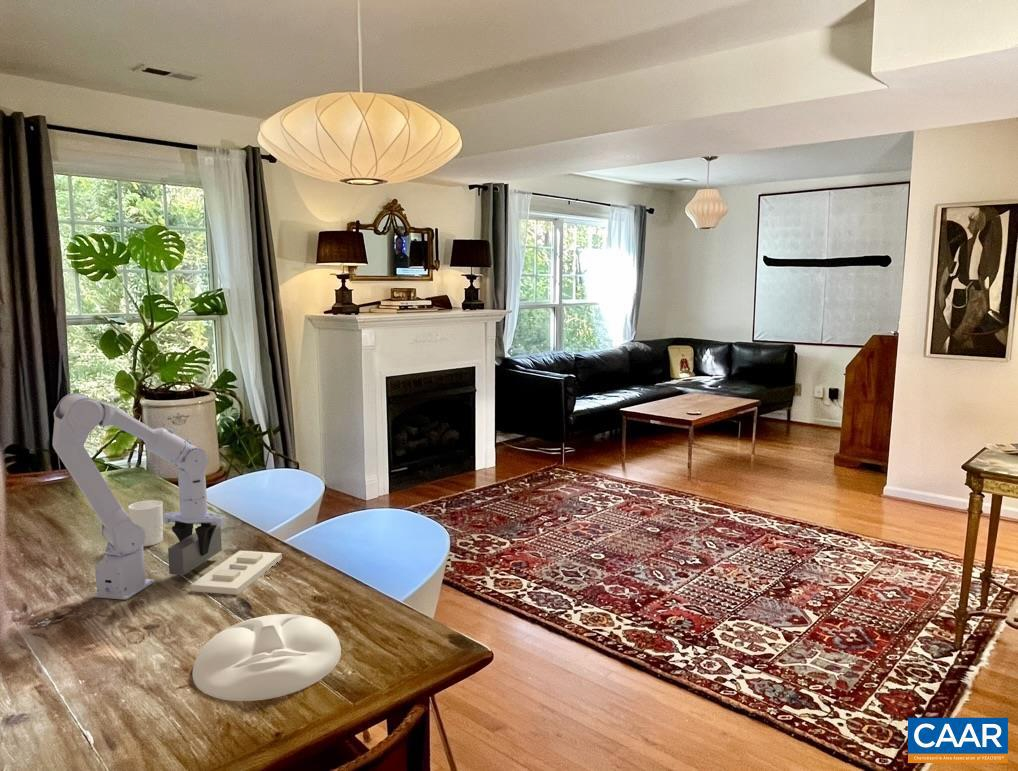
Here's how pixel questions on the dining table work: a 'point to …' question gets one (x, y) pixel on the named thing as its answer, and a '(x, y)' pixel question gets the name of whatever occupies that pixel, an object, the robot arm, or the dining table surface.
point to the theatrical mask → (266, 658)
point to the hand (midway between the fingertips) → (196, 553)
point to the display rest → (236, 572)
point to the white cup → (148, 519)
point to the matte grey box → (191, 553)
